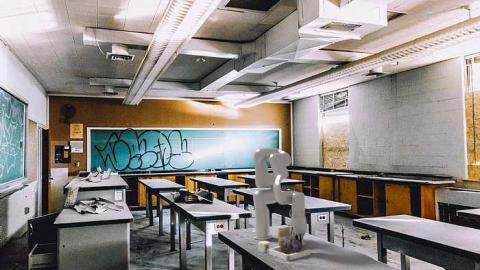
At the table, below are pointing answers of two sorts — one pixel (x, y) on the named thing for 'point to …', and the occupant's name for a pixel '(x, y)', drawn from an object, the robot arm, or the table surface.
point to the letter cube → (263, 246)
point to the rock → (291, 246)
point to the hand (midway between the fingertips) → (299, 245)
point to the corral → (277, 253)
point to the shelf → (285, 235)
